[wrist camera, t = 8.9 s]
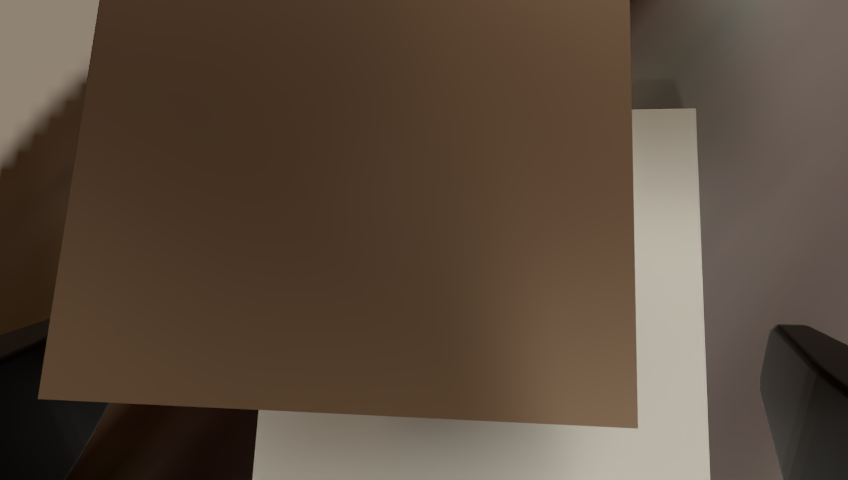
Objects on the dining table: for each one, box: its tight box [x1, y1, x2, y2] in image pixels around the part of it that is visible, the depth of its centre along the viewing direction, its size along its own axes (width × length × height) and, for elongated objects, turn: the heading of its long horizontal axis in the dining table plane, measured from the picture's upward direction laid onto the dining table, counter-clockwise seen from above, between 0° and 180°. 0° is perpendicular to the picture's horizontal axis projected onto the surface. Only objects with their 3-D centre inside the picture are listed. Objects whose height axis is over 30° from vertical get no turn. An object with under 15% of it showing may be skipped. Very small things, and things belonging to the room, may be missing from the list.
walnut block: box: [38, 0, 638, 428], centre depth 12 cm, size 4×4×13 cm
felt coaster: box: [252, 108, 710, 480], centre depth 19 cm, size 11×11×1 cm
